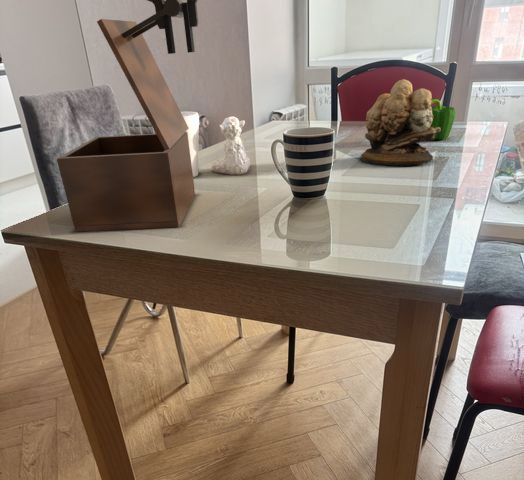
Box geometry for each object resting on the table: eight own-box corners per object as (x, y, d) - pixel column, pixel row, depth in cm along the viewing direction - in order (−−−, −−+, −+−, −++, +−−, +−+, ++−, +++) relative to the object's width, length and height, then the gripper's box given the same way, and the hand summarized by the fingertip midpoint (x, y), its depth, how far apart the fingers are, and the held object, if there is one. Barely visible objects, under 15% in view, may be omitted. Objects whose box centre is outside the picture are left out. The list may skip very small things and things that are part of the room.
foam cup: (196, 180, 114) (189, 117, 107) (158, 180, 116) (148, 118, 109) (210, 170, 121) (203, 111, 114) (174, 170, 123) (165, 112, 117)
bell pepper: (449, 135, 142) (454, 96, 136) (454, 141, 135) (459, 99, 129) (418, 136, 143) (422, 97, 138) (421, 142, 136) (425, 101, 131)
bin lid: (96, 21, 71) (162, -19, 68) (131, 23, 88) (185, -9, 85) (165, 150, 80) (225, 120, 77) (185, 130, 97) (235, 104, 94)
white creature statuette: (249, 165, 123) (245, 111, 117) (261, 172, 116) (258, 115, 110) (211, 170, 121) (206, 116, 115) (221, 178, 114) (216, 120, 108)
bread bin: (75, 231, 87) (56, 158, 81) (108, 199, 104) (94, 136, 98) (178, 227, 86) (167, 152, 80) (195, 195, 103) (187, 131, 97)
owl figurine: (443, 157, 119) (454, 75, 110) (427, 169, 111) (438, 81, 102) (371, 153, 128) (375, 76, 119) (351, 163, 119) (354, 81, 110)
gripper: (216, -145, 71) (231, 48, 84) (108, -136, 72) (139, 55, 85) (210, -162, 65) (227, 50, 78) (92, -152, 66) (128, 56, 78)
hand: (181, 52), depth 81 cm, fingers closed on bin lid, 2 cm apart
